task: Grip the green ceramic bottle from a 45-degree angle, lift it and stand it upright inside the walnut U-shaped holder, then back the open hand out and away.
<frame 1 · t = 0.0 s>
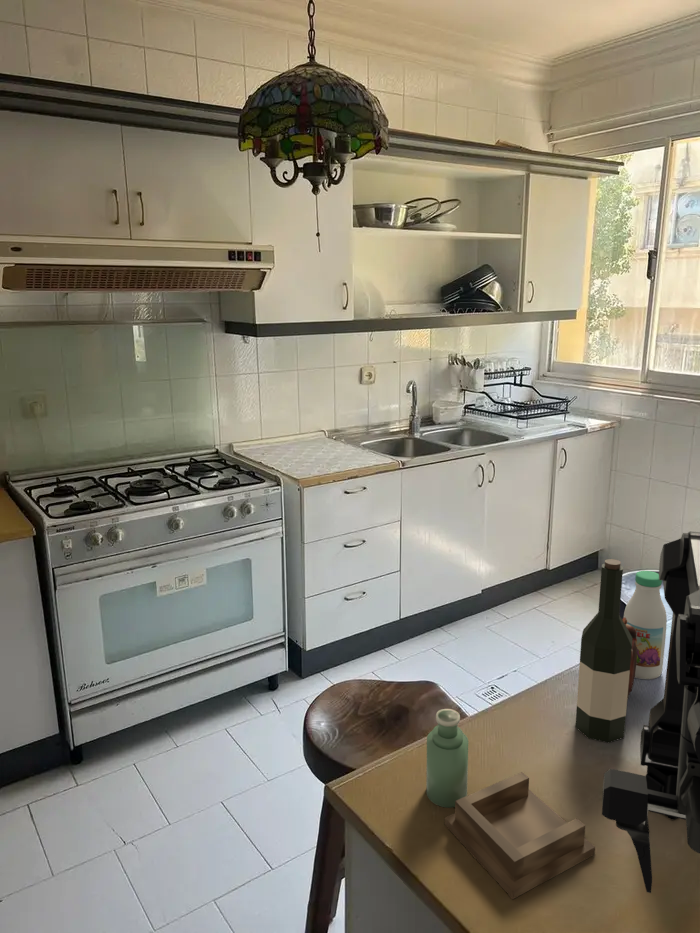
bottle rest: (517, 839, 93), on the counter
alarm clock: (617, 697, 125), on the counter
green bottle: (446, 792, 102), on the counter
milk bottle: (640, 671, 134), on the counter
wine bottle: (599, 728, 116), on the counter
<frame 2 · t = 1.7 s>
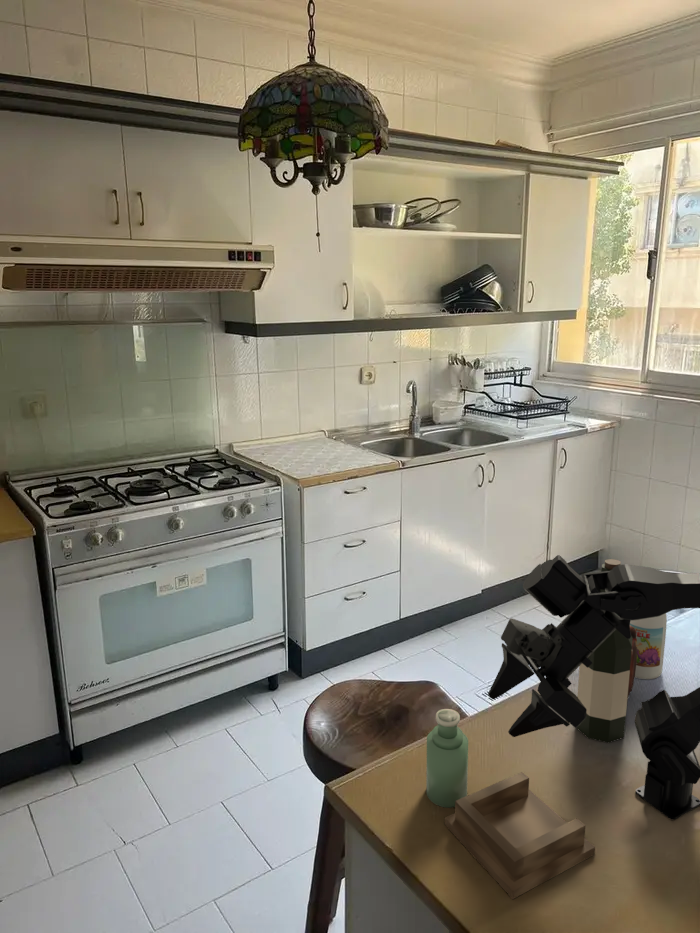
hand: (499, 715, 98), 13 cm above the counter, tool tilted 45°, fingers open, 9 cm apart
nothing on the counter moved.
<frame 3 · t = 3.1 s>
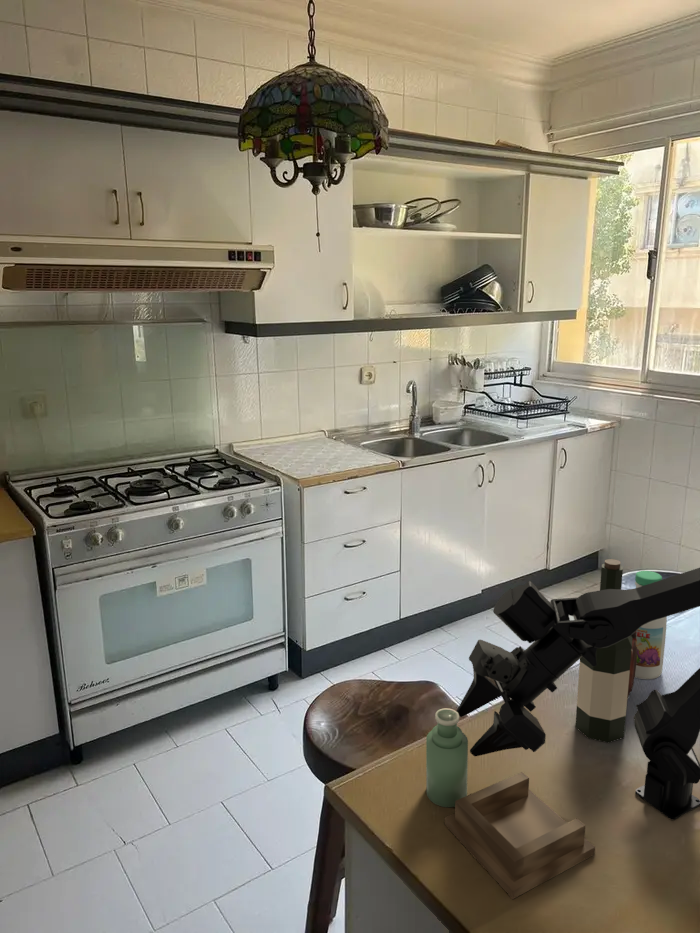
hand: (464, 733, 99), 10 cm above the counter, tool tilted 45°, fingers open, 9 cm apart
nothing on the counter moved.
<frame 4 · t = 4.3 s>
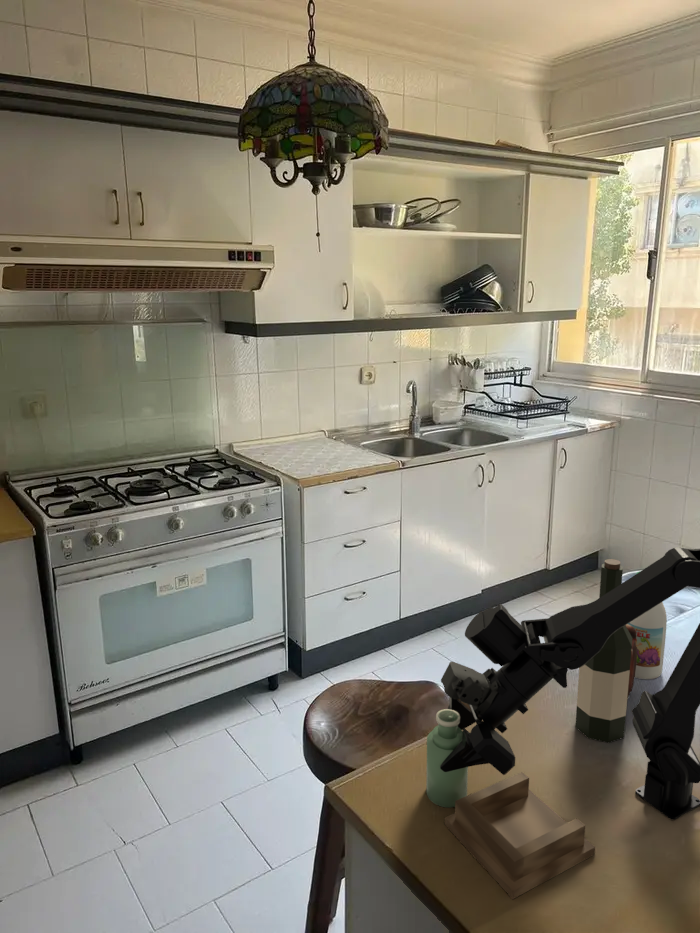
hand: (437, 754, 100), 7 cm above the counter, tool tilted 45°, fingers closed on green bottle, 6 cm apart
green bottle: (446, 792, 102), on the counter, touching gripper
everything else where it was.
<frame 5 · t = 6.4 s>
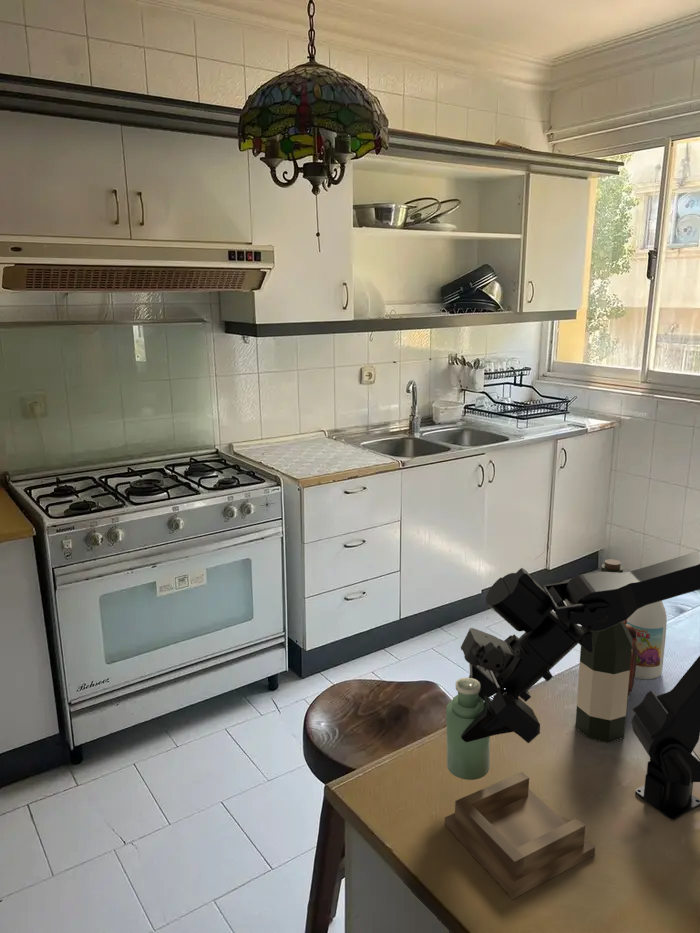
hand: (458, 725, 96), 13 cm above the counter, tool tilted 45°, fingers closed on green bottle, 6 cm apart
green bottle: (468, 765, 98), point 6 cm above the counter, touching gripper
everything else where it was.
when the fingers open (9 cm above the counter, at t = 8.5 s): green bottle drops 1 cm, resting on bottle rest.
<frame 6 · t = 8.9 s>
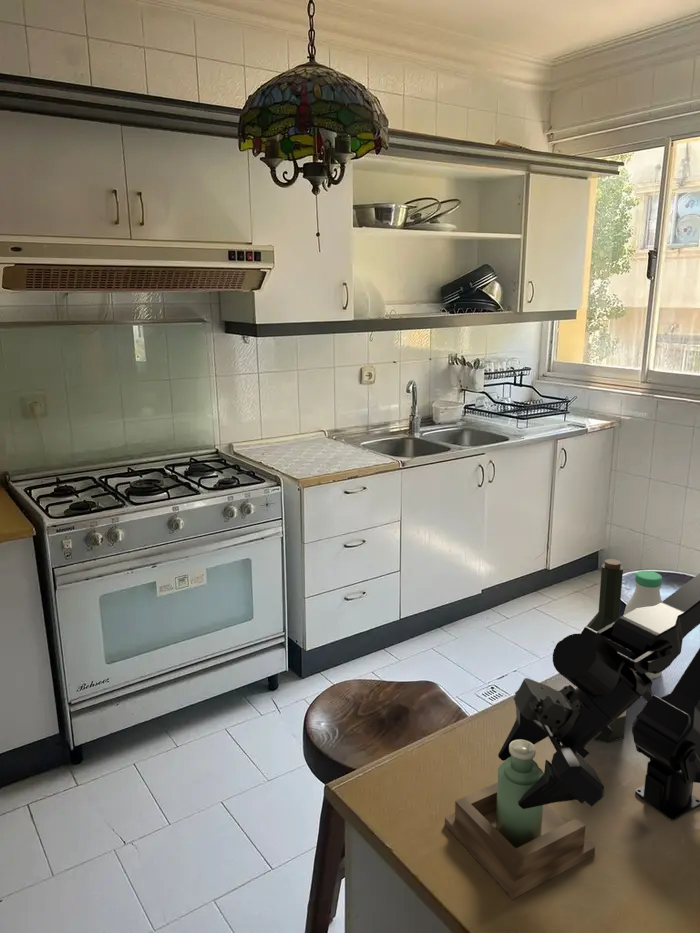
hand: (509, 781, 90), 9 cm above the counter, tool tilted 45°, fingers open, 9 cm apart
green bottle: (518, 831, 92), point 1 cm above the counter, touching bottle rest
everything else where it was.
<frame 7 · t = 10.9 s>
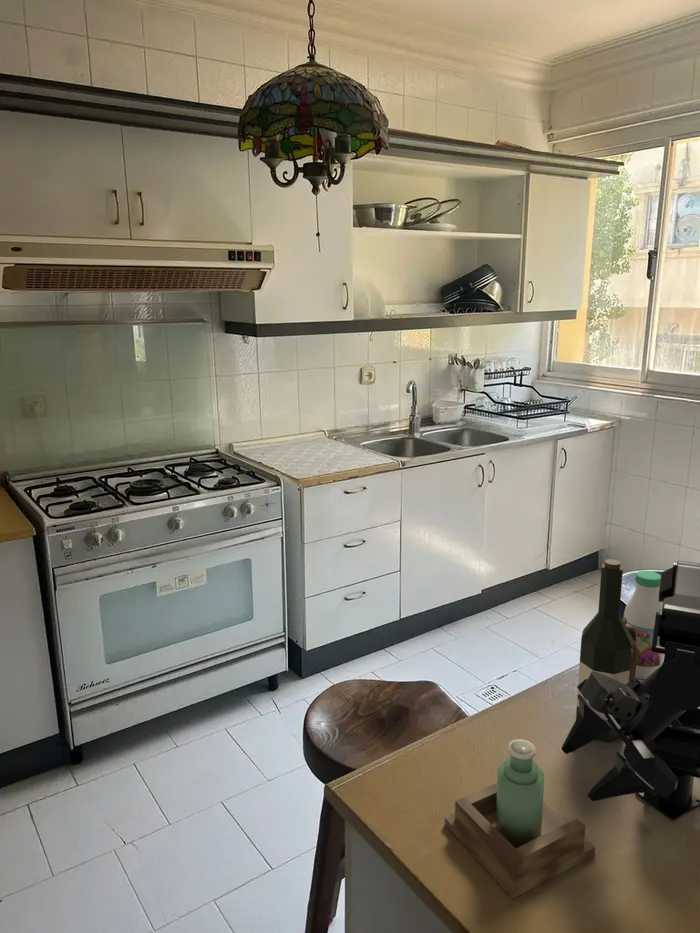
hand: (575, 773, 91), 10 cm above the counter, tool tilted 45°, fingers open, 9 cm apart
nothing on the counter moved.
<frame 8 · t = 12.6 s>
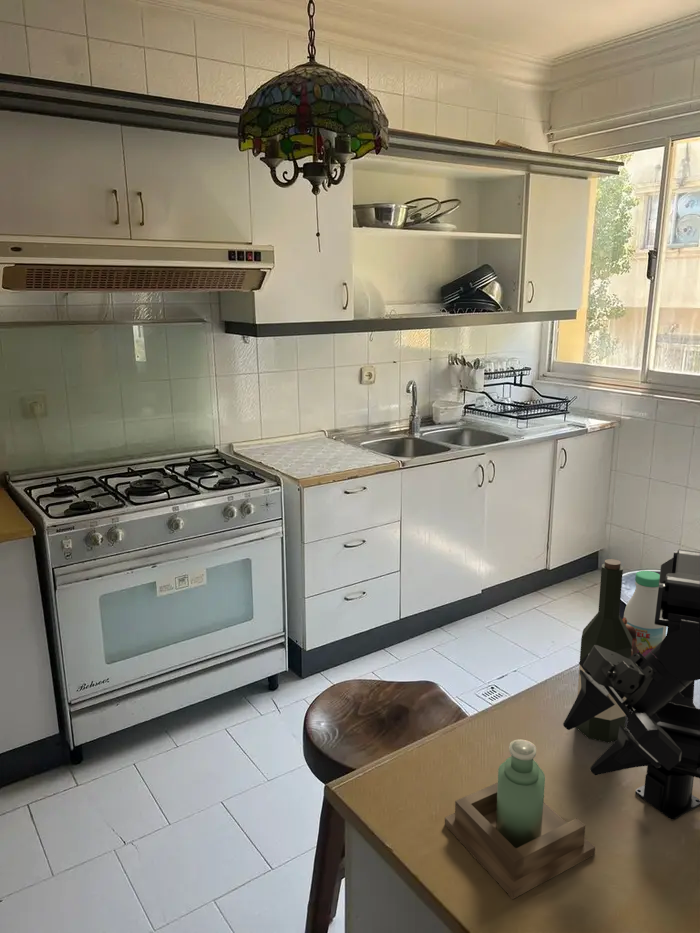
hand: (578, 748, 90), 14 cm above the counter, tool tilted 45°, fingers open, 9 cm apart
nothing on the counter moved.
at the end: green bottle 0.1 cm off-centre on the bottle rest, point 1.2 cm above the bottle rest's base; green bottle tilted 0°; the gripper is holding nothing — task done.
